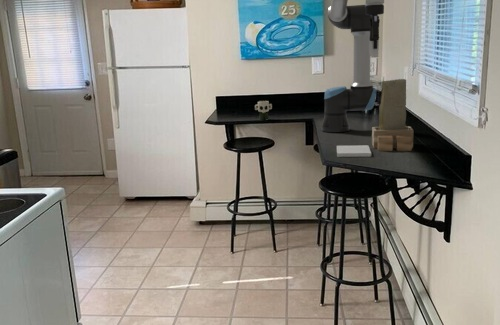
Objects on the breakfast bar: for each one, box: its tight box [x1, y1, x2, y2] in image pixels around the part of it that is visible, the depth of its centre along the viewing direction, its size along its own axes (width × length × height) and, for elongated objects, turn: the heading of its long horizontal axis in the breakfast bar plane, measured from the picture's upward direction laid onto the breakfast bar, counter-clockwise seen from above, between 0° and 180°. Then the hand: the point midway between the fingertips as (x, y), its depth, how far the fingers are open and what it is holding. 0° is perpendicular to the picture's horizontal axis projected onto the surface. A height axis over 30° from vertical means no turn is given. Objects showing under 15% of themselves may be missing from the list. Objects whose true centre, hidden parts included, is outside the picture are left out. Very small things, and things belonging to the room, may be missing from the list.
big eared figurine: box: [254, 100, 273, 121], centre depth 305 cm, size 11×7×13 cm, turn 92°
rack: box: [371, 125, 414, 149], centre depth 217 cm, size 10×17×8 cm, turn 81°
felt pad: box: [336, 144, 372, 158], centre depth 207 cm, size 16×14×2 cm
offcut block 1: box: [376, 136, 394, 152], centre depth 210 cm, size 4×6×6 cm, turn 81°
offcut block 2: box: [395, 135, 413, 152], centre depth 208 cm, size 4×6×6 cm, turn 81°
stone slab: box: [378, 78, 407, 130], centre depth 214 cm, size 12×4×30 cm, turn 99°
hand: (373, 56), depth 203 cm, fingers open, 13 cm apart
